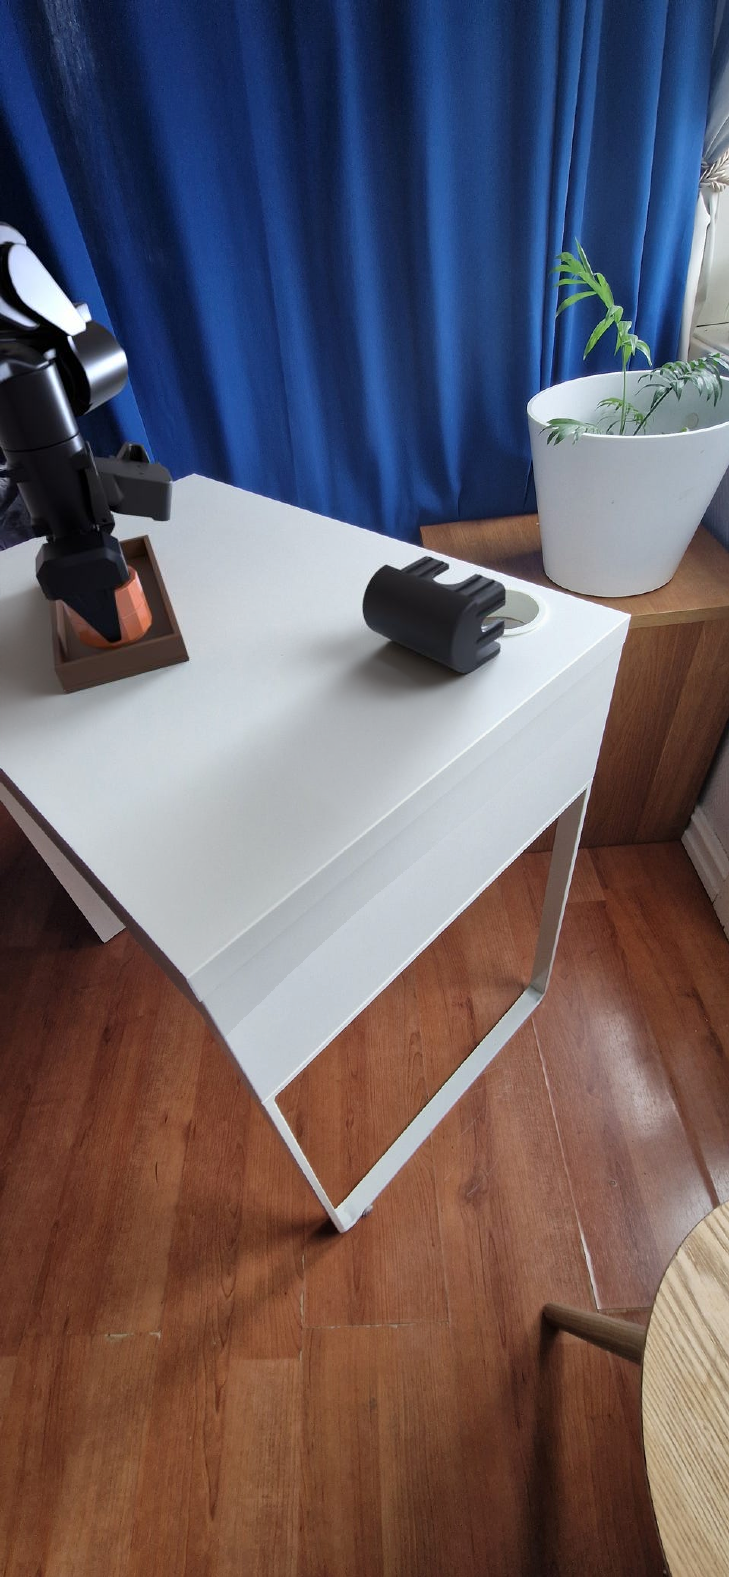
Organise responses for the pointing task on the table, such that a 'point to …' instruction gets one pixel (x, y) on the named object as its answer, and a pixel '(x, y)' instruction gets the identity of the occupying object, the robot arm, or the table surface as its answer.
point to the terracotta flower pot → (130, 615)
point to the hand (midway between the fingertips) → (112, 622)
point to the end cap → (436, 613)
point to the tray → (148, 653)
